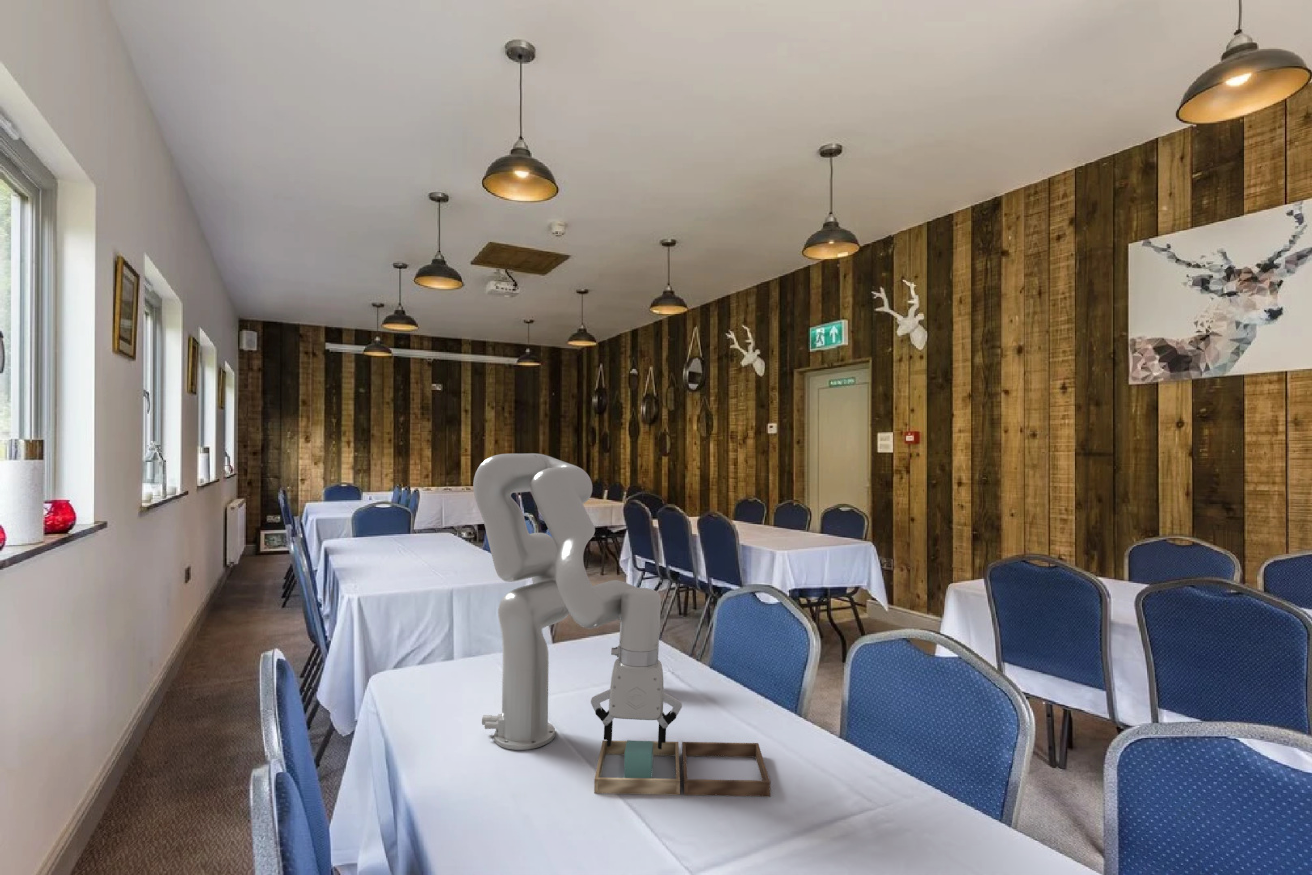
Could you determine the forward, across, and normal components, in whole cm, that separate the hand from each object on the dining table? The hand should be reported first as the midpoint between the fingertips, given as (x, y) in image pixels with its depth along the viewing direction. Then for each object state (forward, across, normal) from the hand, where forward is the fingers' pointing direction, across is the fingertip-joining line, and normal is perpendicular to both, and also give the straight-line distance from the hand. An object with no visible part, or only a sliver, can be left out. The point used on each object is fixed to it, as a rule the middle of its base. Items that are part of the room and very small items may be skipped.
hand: (634, 744), depth 125 cm
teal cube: (+5, +1, -1) cm, 5 cm away
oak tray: (+5, +1, -1) cm, 5 cm away
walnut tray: (+4, +17, -1) cm, 18 cm away
